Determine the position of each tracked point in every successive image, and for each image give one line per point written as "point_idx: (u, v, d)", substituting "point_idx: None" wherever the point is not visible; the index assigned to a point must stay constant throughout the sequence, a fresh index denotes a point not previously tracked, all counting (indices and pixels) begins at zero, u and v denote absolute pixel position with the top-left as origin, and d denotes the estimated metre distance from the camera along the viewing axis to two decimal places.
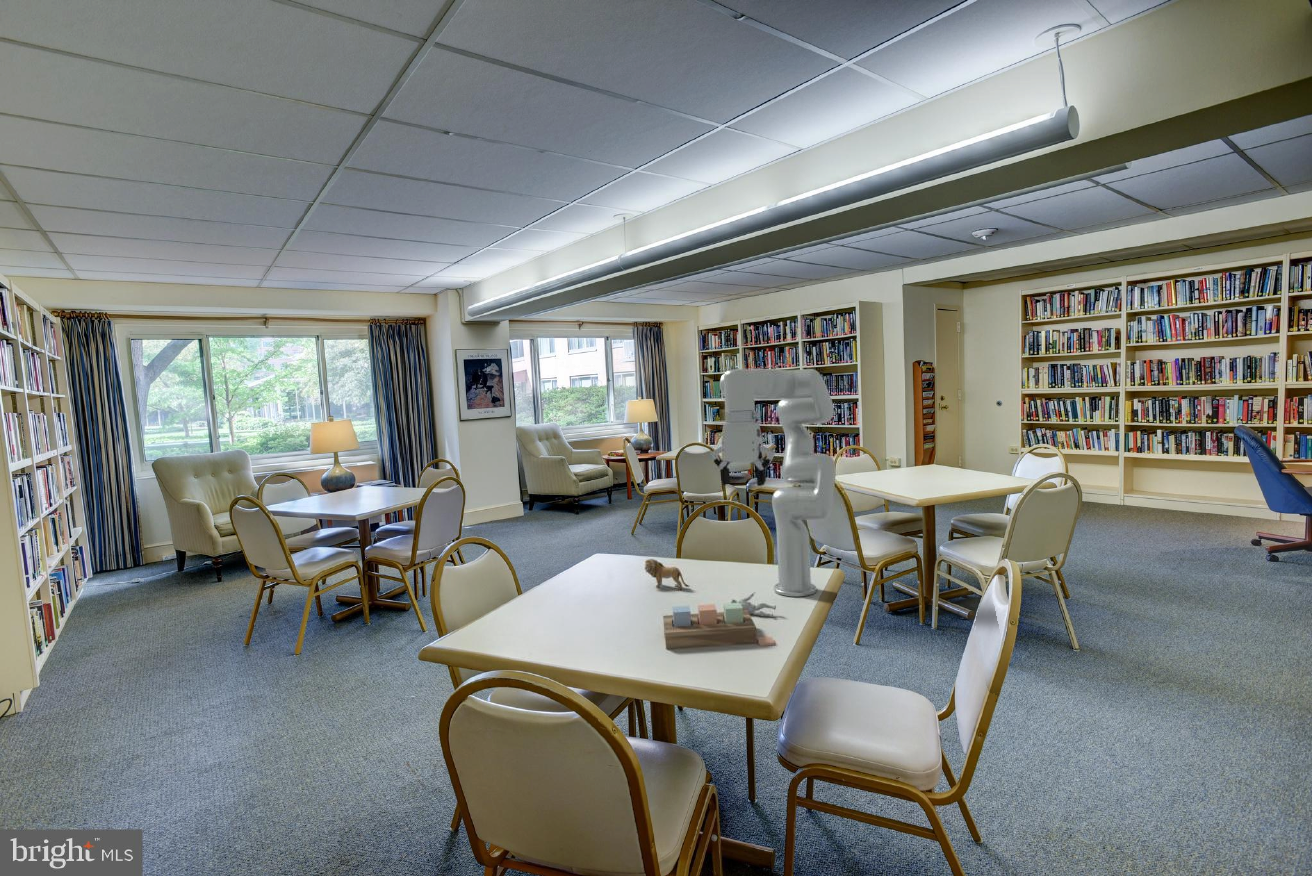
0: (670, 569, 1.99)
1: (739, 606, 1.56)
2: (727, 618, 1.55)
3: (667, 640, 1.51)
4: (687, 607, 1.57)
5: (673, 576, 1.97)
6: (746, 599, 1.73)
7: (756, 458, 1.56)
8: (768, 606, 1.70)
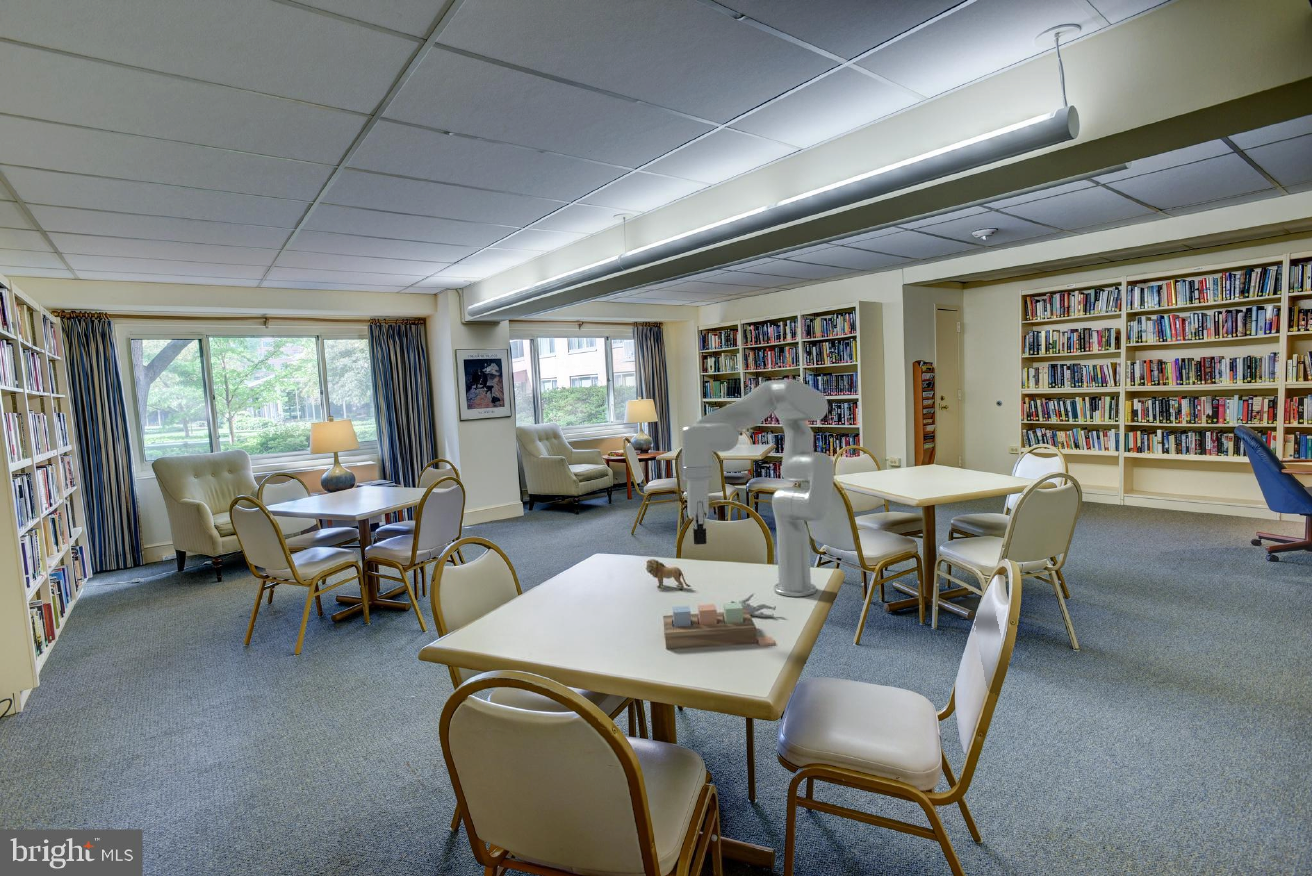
0: (671, 569, 1.98)
1: (739, 606, 1.56)
2: (727, 618, 1.55)
3: (667, 640, 1.51)
4: (687, 607, 1.57)
5: (674, 576, 1.97)
6: (745, 600, 1.72)
7: None
8: (768, 607, 1.69)
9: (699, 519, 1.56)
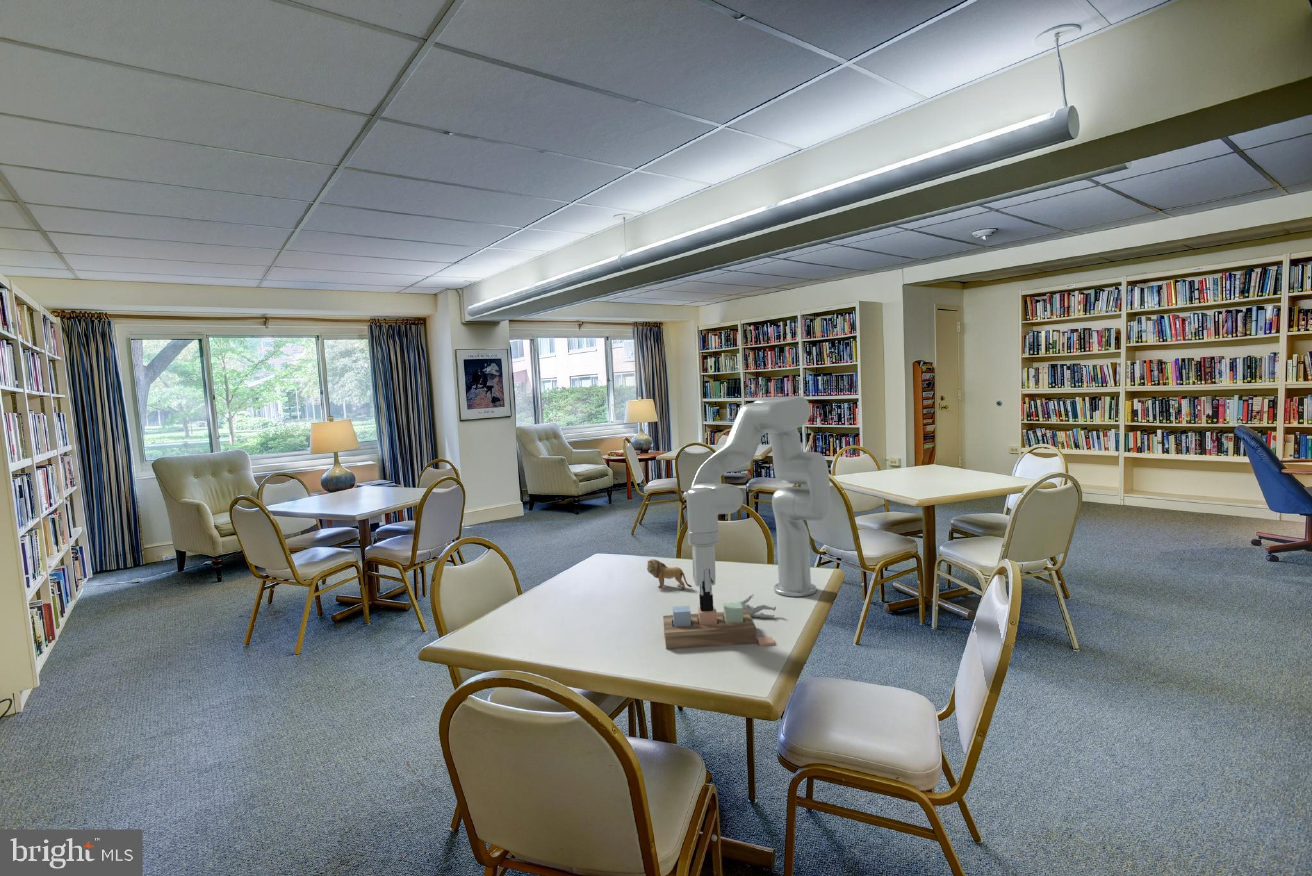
0: (673, 569, 1.98)
1: (739, 606, 1.56)
2: (727, 618, 1.55)
3: (667, 640, 1.51)
4: (687, 607, 1.57)
5: (676, 576, 1.97)
6: (744, 601, 1.71)
7: None
8: (768, 607, 1.69)
9: (706, 587, 1.51)
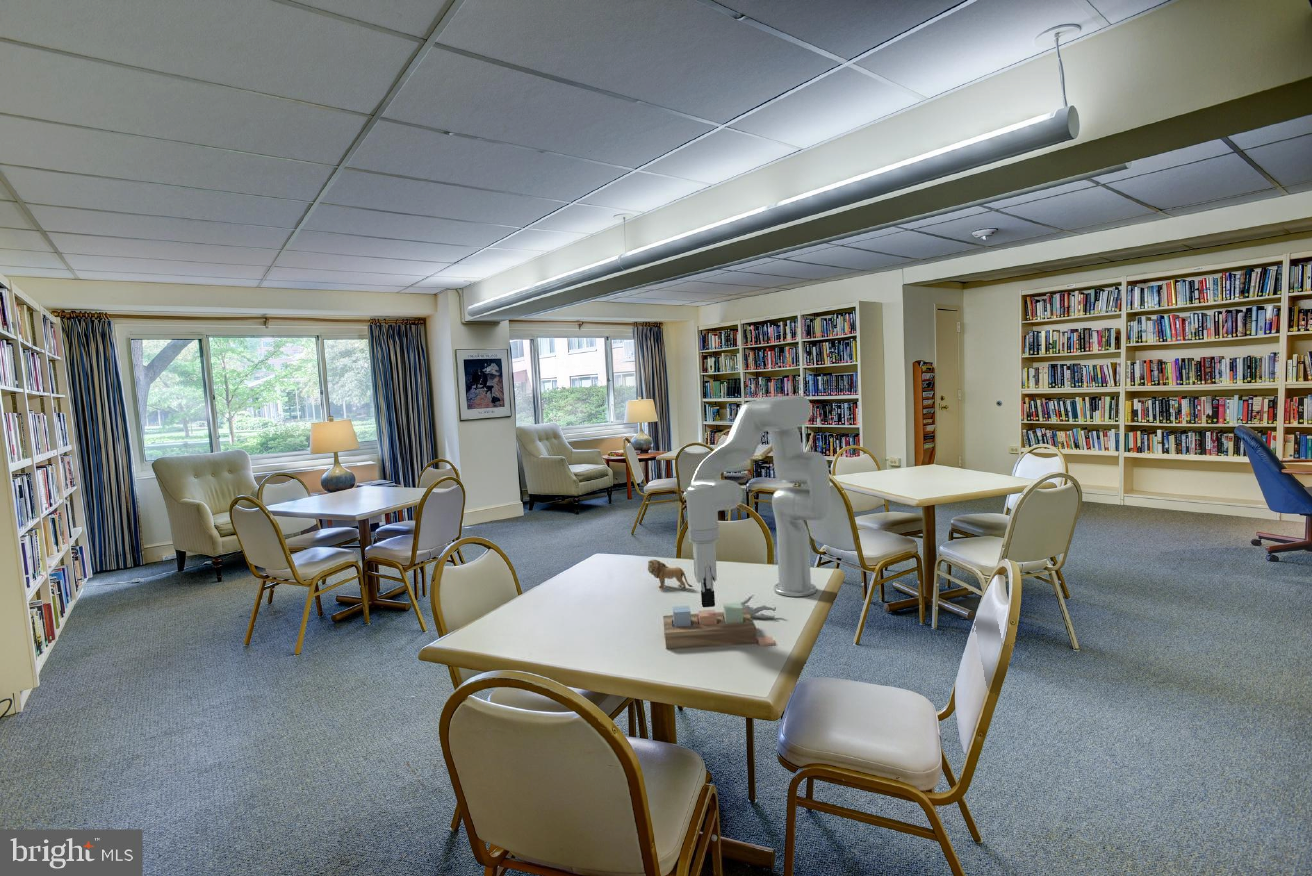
0: (673, 569, 1.98)
1: (739, 606, 1.56)
2: (727, 618, 1.55)
3: (667, 640, 1.51)
4: (687, 607, 1.57)
5: (677, 576, 1.97)
6: (744, 602, 1.70)
7: None
8: (768, 608, 1.68)
9: (707, 584, 1.51)
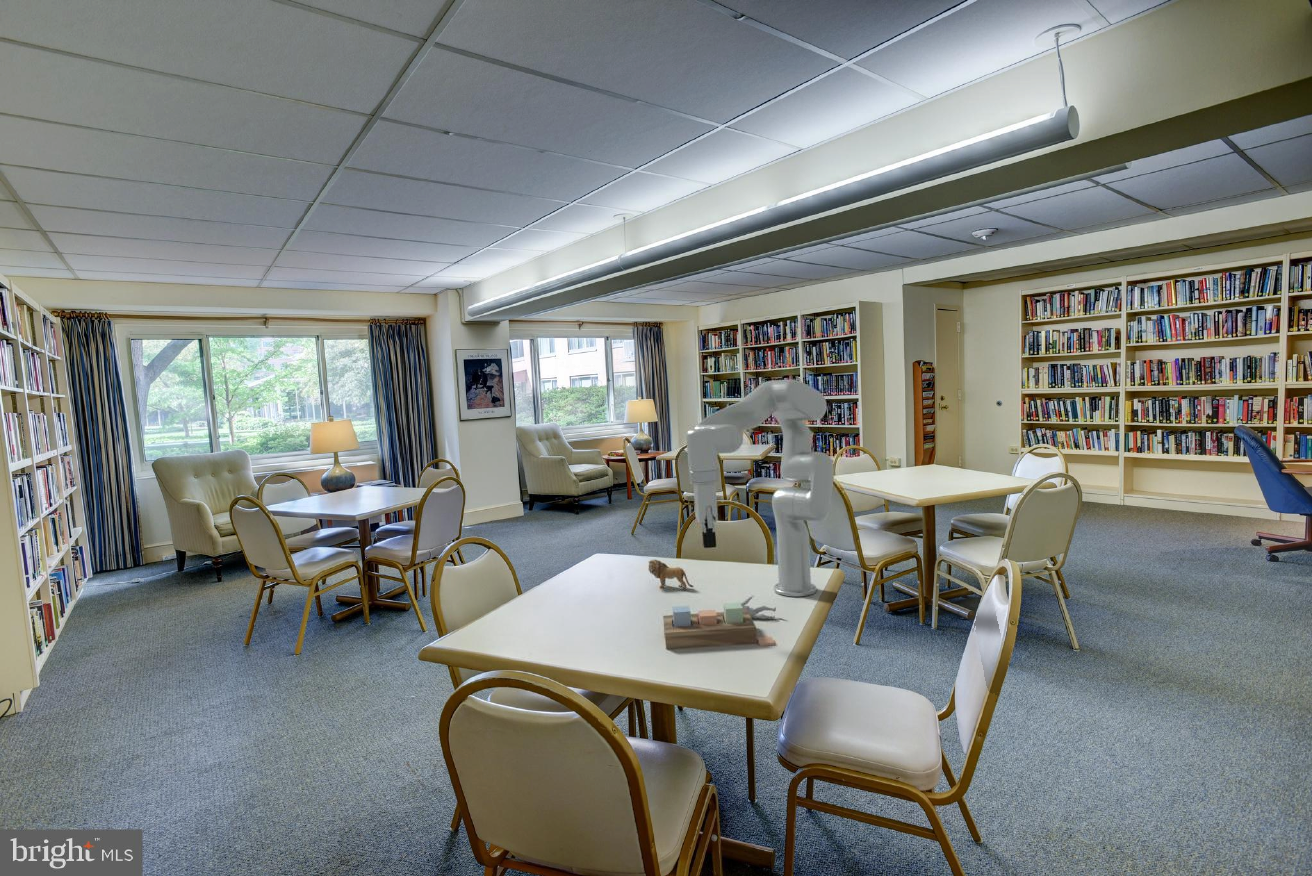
0: (674, 569, 1.98)
1: (739, 606, 1.56)
2: (727, 618, 1.55)
3: (667, 640, 1.51)
4: (687, 607, 1.57)
5: (677, 576, 1.97)
6: (744, 603, 1.70)
7: None
8: (768, 608, 1.68)
9: (708, 523, 1.55)
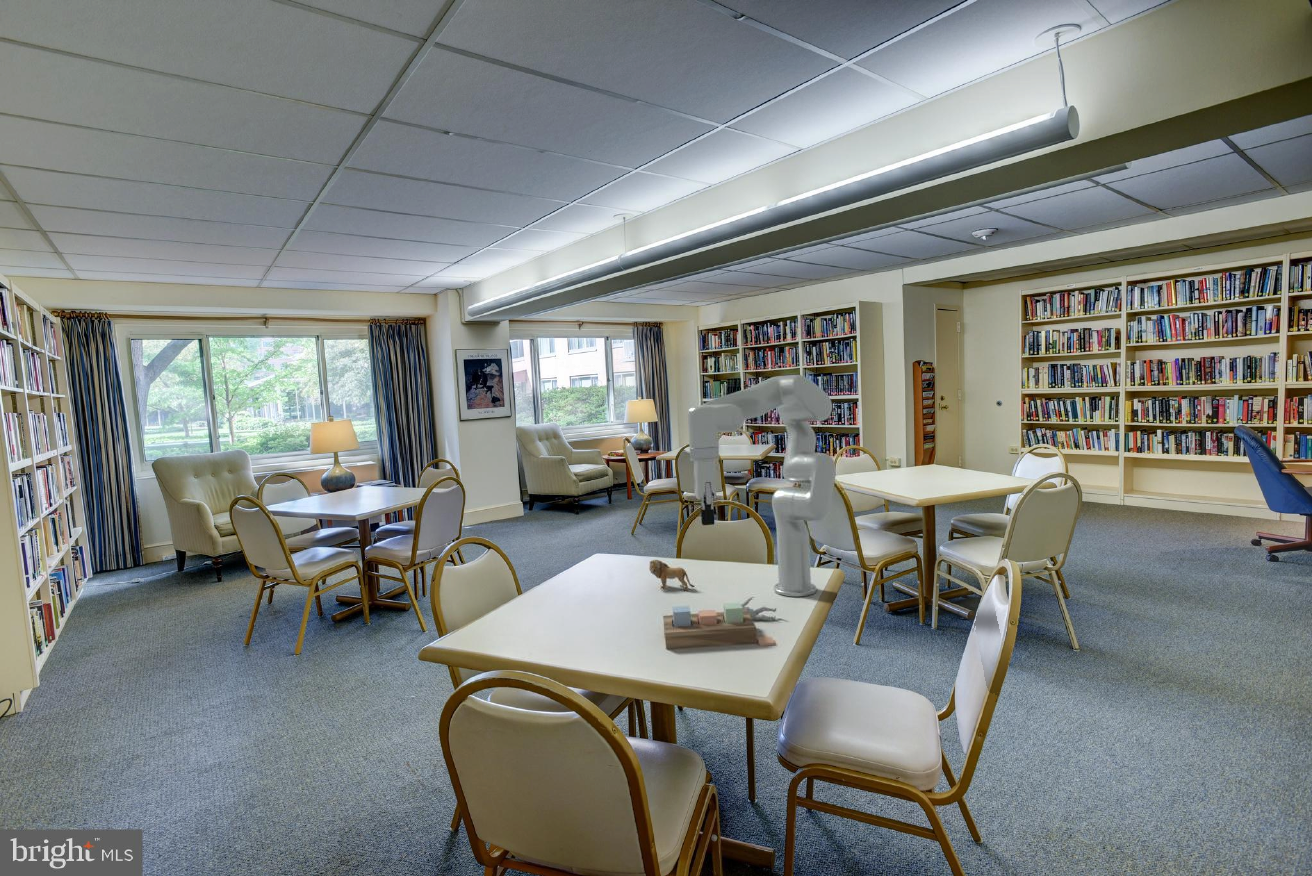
0: (675, 569, 1.98)
1: (739, 606, 1.56)
2: (727, 618, 1.55)
3: (667, 640, 1.51)
4: (687, 607, 1.57)
5: (679, 576, 1.97)
6: (744, 604, 1.69)
7: None
8: (768, 609, 1.67)
9: (707, 499, 1.57)
